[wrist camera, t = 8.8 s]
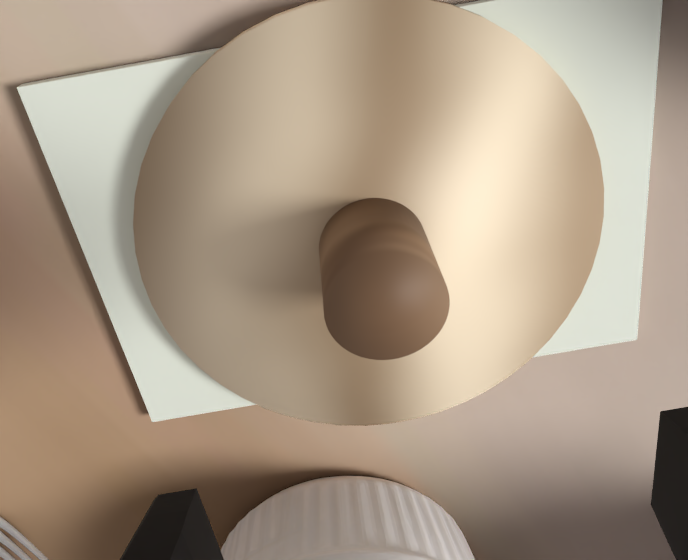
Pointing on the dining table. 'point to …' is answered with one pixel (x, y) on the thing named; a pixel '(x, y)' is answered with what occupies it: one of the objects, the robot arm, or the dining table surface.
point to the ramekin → (347, 524)
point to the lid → (368, 210)
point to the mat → (173, 72)
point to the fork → (12, 546)
